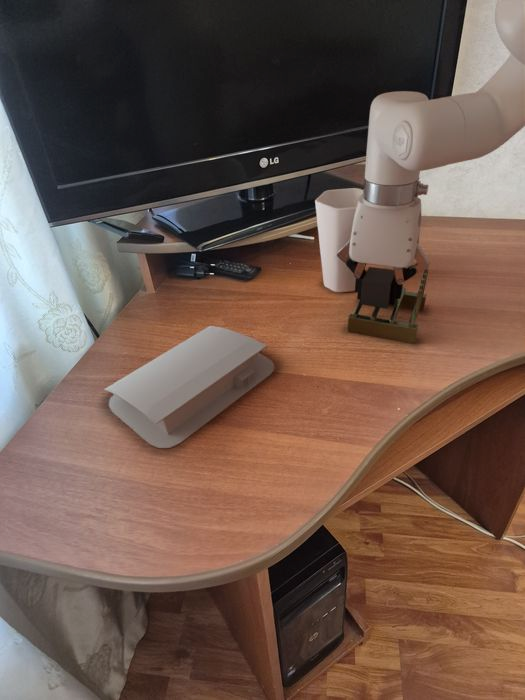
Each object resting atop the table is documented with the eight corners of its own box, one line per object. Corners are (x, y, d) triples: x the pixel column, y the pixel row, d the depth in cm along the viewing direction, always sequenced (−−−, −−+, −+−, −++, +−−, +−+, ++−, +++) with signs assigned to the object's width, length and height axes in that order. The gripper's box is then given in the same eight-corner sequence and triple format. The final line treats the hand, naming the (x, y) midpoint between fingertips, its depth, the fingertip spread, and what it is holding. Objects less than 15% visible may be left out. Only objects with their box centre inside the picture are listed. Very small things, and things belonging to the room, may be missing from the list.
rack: (423, 308, 78) (432, 264, 73) (414, 344, 71) (423, 297, 65) (362, 298, 82) (366, 255, 77) (347, 331, 74) (350, 286, 69)
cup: (381, 286, 86) (391, 198, 75) (342, 303, 81) (347, 213, 71) (342, 266, 93) (346, 184, 83) (304, 281, 89) (304, 197, 79)
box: (393, 294, 76) (396, 270, 73) (387, 308, 72) (390, 284, 69) (367, 290, 77) (368, 266, 75) (360, 304, 74) (362, 280, 71)
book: (282, 365, 68) (281, 345, 66) (163, 455, 56) (156, 435, 53) (216, 330, 77) (213, 311, 75) (100, 401, 64) (92, 381, 62)
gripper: (454, 186, 63) (432, 295, 74) (339, 179, 69) (335, 280, 80) (449, 204, 58) (426, 318, 69) (325, 194, 64) (322, 301, 75)
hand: (377, 297), depth 75 cm, fingers open, 4 cm apart
